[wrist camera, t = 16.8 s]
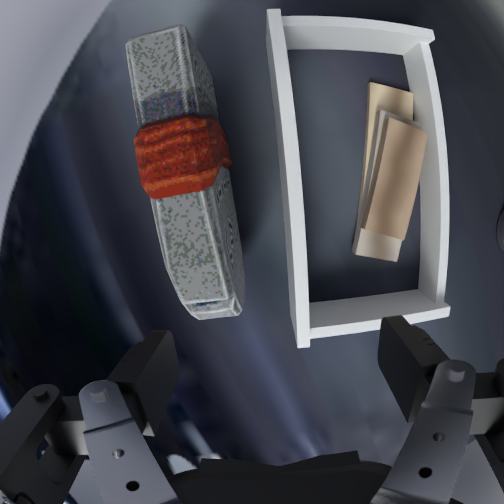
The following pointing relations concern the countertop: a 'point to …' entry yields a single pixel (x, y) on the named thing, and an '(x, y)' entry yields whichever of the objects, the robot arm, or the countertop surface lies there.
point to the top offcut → (394, 179)
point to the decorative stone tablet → (187, 171)
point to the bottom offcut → (386, 101)
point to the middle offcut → (364, 239)
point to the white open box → (431, 177)
